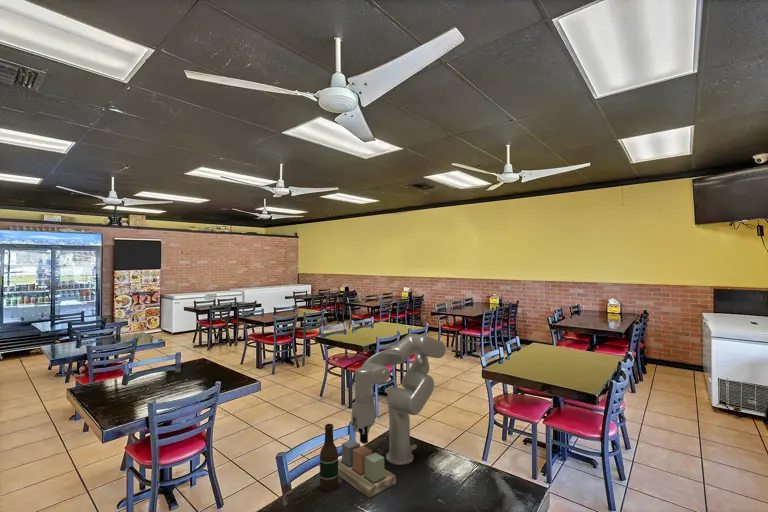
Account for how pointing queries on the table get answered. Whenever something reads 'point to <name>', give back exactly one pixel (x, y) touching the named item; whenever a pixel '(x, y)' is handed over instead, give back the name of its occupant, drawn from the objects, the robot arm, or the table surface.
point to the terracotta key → (360, 459)
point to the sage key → (374, 467)
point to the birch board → (365, 480)
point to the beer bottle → (328, 461)
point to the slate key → (349, 452)
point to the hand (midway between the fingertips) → (363, 442)
